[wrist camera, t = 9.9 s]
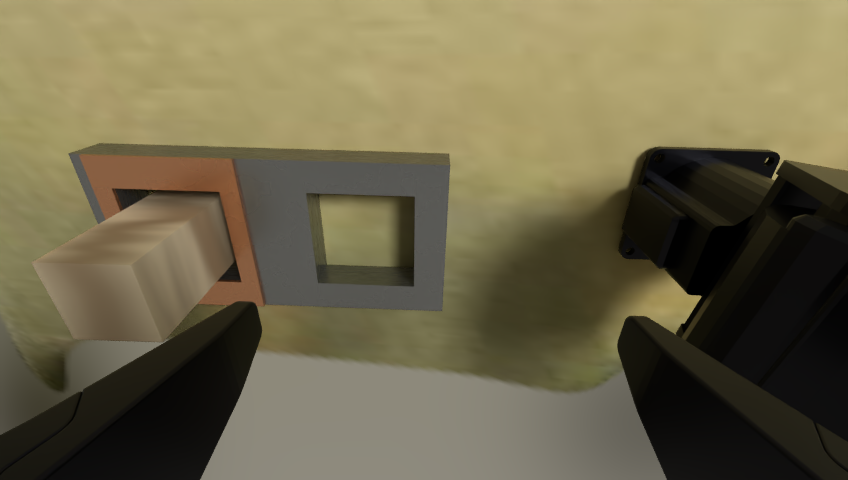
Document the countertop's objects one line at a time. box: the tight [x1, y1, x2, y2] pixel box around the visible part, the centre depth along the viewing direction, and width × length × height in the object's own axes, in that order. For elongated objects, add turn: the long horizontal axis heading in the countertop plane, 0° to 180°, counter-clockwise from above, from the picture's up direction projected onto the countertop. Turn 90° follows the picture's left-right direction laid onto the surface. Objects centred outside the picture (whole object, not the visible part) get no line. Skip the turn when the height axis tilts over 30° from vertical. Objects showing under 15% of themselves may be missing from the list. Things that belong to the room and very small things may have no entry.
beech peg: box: [31, 190, 236, 342], centre depth 20 cm, size 4×4×8 cm
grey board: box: [69, 143, 450, 311], centre depth 22 cm, size 19×9×2 cm, turn 89°
